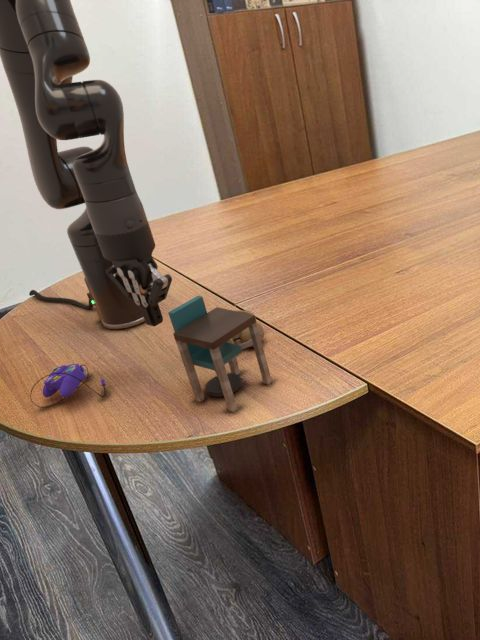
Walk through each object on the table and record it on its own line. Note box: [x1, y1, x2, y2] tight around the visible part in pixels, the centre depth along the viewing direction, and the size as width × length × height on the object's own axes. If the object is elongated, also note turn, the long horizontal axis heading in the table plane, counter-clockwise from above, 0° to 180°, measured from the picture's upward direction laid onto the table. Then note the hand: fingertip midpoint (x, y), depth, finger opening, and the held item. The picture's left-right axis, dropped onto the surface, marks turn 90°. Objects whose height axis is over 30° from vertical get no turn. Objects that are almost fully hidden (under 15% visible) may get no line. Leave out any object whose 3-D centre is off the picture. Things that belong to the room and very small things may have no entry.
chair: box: [168, 295, 243, 398], centre depth 103 cm, size 6×6×15 cm
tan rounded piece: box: [231, 309, 265, 350], centre depth 118 cm, size 11×5×15 cm
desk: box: [172, 306, 273, 413], centre depth 102 cm, size 8×9×12 cm
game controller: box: [30, 363, 106, 409], centre depth 105 cm, size 10×8×10 cm
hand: (155, 323), depth 107 cm, fingers closed
